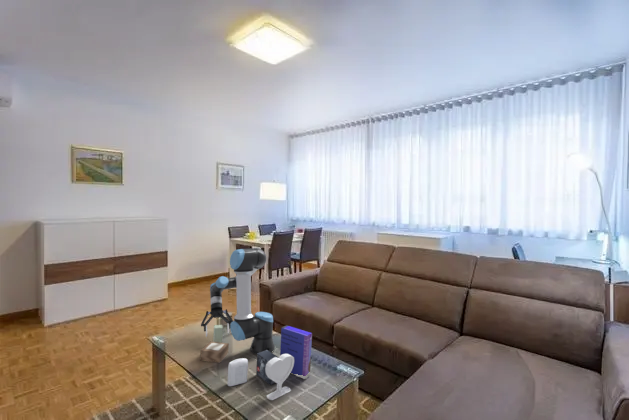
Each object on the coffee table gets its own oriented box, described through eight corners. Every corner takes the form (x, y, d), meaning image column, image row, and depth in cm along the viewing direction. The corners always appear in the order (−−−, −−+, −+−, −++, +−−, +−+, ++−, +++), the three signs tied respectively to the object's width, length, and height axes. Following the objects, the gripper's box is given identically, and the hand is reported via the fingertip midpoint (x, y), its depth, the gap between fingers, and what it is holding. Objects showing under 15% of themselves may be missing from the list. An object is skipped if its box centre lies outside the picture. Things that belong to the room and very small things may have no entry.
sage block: (221, 342, 208) (221, 324, 208) (222, 345, 204) (222, 327, 204) (213, 343, 207) (213, 325, 206) (213, 346, 202) (214, 328, 202)
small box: (255, 374, 172) (256, 353, 172) (265, 370, 177) (266, 349, 177) (270, 385, 163) (271, 362, 163) (280, 380, 168) (281, 358, 168)
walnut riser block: (228, 353, 195) (228, 343, 195) (220, 362, 183) (220, 352, 183) (209, 350, 196) (210, 341, 196) (200, 360, 184) (200, 349, 184)
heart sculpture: (269, 401, 150) (271, 364, 149) (263, 396, 153) (264, 360, 153) (294, 389, 161) (295, 354, 160) (287, 384, 164) (289, 350, 164)
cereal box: (309, 375, 174) (312, 332, 173) (305, 379, 170) (307, 335, 169) (284, 365, 183) (286, 324, 182) (279, 369, 179) (281, 327, 178)
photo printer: (245, 378, 169) (246, 355, 168) (248, 382, 165) (249, 358, 165) (226, 383, 163) (227, 359, 163) (229, 387, 159) (230, 363, 159)
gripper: (234, 305, 226) (236, 334, 212) (196, 308, 216) (196, 339, 203) (235, 300, 221) (238, 330, 207) (197, 303, 211) (197, 334, 198)
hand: (217, 334), depth 205 cm, fingers open, 13 cm apart
